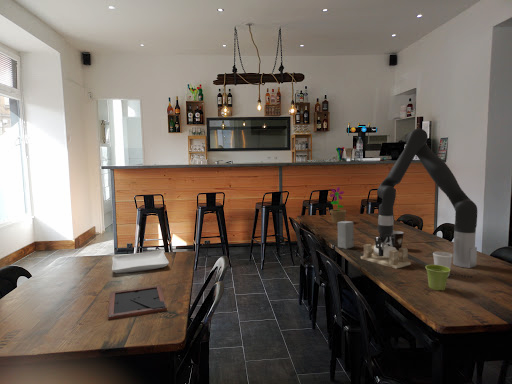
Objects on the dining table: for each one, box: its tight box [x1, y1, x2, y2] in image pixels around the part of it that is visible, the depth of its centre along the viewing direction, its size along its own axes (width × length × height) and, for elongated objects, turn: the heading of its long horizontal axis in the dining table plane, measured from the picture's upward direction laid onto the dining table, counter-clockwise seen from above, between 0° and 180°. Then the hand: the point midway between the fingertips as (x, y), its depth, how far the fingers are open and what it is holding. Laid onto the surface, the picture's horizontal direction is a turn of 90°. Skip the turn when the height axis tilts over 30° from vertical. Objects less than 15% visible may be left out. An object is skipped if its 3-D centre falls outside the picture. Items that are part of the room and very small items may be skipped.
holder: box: [360, 242, 412, 269], centre depth 188 cm, size 22×12×8 cm, turn 33°
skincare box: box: [337, 220, 355, 250], centre depth 219 cm, size 8×7×16 cm
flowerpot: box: [329, 186, 348, 225], centre depth 301 cm, size 14×14×30 cm
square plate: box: [111, 250, 170, 274], centre depth 188 cm, size 27×27×4 cm
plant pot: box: [425, 264, 451, 291], centre depth 149 cm, size 9×9×9 cm
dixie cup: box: [432, 251, 453, 277], centre depth 165 cm, size 8×8×10 cm
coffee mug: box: [391, 230, 404, 251], centre depth 213 cm, size 12×9×10 cm
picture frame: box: [107, 284, 168, 321], centre depth 139 cm, size 20×2×25 cm
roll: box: [372, 244, 403, 258], centre depth 188 cm, size 19×6×6 cm, turn 33°
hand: (385, 255), depth 188 cm, fingers open, 6 cm apart
